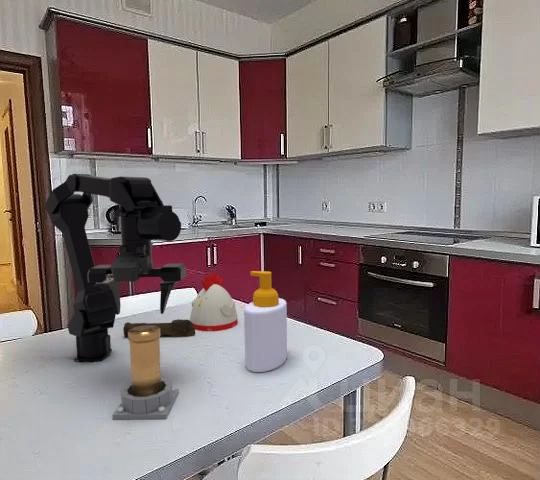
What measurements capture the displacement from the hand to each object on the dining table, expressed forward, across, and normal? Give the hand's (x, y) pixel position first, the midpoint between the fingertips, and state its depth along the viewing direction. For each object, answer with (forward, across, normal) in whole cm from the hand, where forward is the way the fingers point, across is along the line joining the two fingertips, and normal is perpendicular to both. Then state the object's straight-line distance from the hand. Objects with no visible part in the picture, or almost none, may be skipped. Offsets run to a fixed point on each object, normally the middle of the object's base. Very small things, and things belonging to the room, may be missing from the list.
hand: (140, 313), depth 84 cm
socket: (+13, +5, -13) cm, 19 cm away
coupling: (+12, +5, -13) cm, 18 cm away
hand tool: (+14, -3, +24) cm, 28 cm away
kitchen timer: (+13, +10, +34) cm, 38 cm away
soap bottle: (+13, +26, +6) cm, 30 cm away
